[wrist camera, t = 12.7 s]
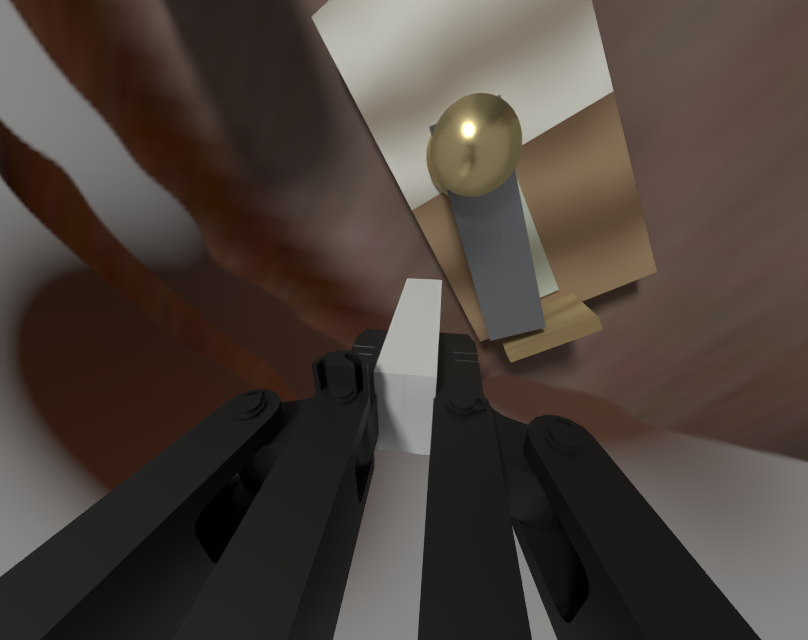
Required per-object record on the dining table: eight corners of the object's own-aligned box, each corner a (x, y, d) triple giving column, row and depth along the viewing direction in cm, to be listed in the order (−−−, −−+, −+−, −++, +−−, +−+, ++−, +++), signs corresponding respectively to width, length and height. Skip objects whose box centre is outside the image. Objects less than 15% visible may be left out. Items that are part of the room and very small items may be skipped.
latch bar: (424, 131, 15) (418, 117, 12) (494, 99, 14) (511, 74, 11) (479, 319, 19) (487, 351, 16) (536, 304, 18) (558, 334, 15)
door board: (326, 34, 16) (273, -28, 11) (528, -150, 12) (584, -362, 7) (477, 328, 22) (486, 371, 18) (636, 263, 19) (703, 293, 14)
